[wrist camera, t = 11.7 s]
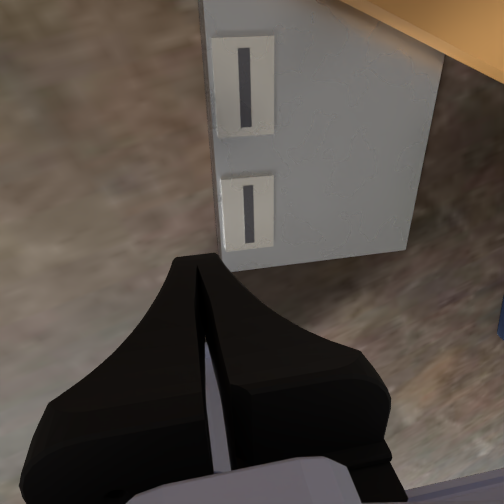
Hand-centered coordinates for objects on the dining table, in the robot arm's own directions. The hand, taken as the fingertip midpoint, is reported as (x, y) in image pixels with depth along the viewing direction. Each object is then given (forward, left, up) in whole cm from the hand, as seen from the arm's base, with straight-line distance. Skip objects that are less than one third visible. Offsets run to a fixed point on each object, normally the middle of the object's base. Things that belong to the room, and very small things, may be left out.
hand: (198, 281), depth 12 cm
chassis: (+2, -7, -10) cm, 13 cm away
